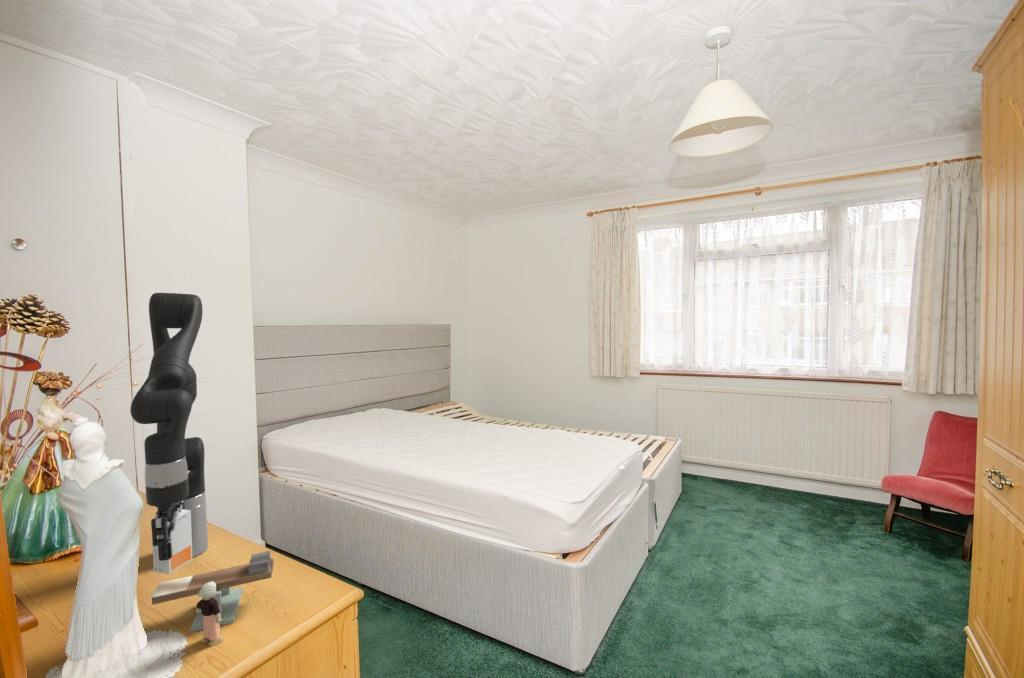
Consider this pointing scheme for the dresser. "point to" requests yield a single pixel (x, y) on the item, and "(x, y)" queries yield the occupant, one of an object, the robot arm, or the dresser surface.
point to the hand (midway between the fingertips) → (171, 550)
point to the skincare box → (176, 545)
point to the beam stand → (222, 607)
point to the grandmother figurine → (210, 614)
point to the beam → (216, 579)
